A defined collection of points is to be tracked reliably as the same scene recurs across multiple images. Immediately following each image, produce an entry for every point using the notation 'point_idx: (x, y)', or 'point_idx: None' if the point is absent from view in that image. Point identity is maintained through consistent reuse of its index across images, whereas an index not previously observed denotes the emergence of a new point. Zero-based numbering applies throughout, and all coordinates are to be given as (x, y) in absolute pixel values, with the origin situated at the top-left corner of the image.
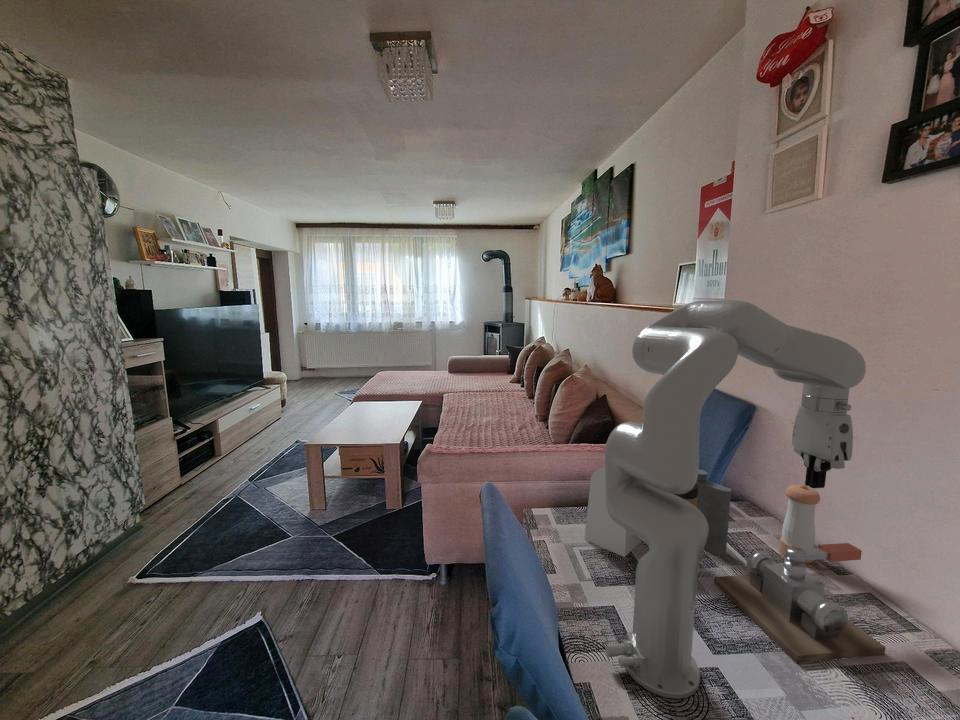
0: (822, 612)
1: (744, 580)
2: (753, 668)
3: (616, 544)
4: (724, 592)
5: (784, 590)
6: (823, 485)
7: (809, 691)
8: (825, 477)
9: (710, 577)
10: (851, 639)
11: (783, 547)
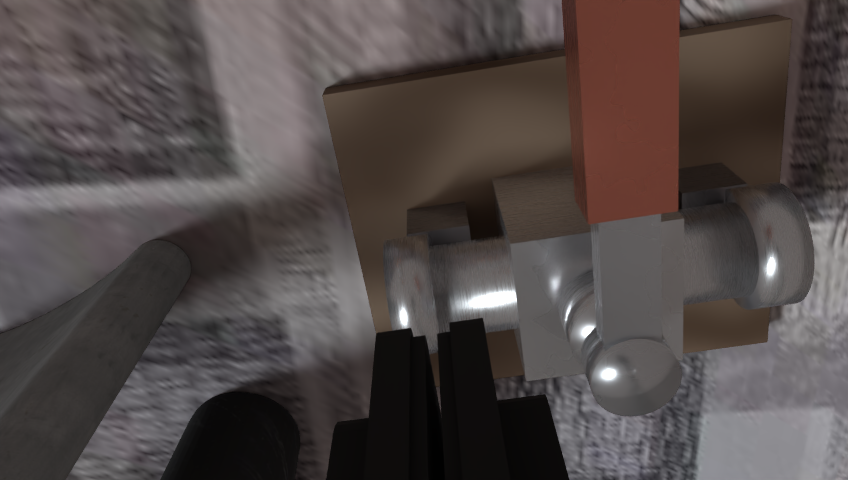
0: (787, 304)
1: None
2: (748, 436)
3: None
4: None
5: None
6: (543, 397)
7: (838, 351)
8: (568, 478)
9: (357, 372)
10: (737, 121)
11: None
